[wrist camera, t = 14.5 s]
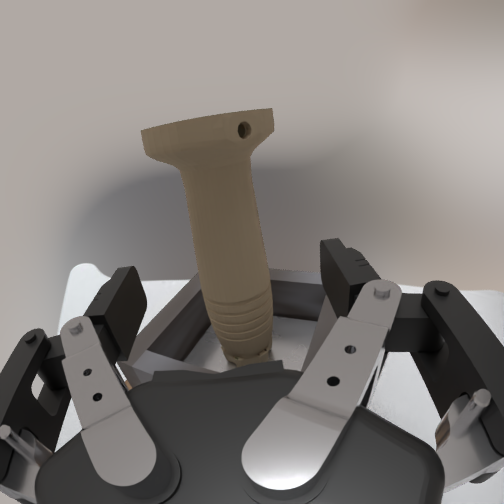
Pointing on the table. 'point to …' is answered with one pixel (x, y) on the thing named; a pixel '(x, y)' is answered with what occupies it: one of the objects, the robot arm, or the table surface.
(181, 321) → the socket base
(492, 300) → the table surface
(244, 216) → the handle
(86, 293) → the table surface
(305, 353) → the mottled stone tile
